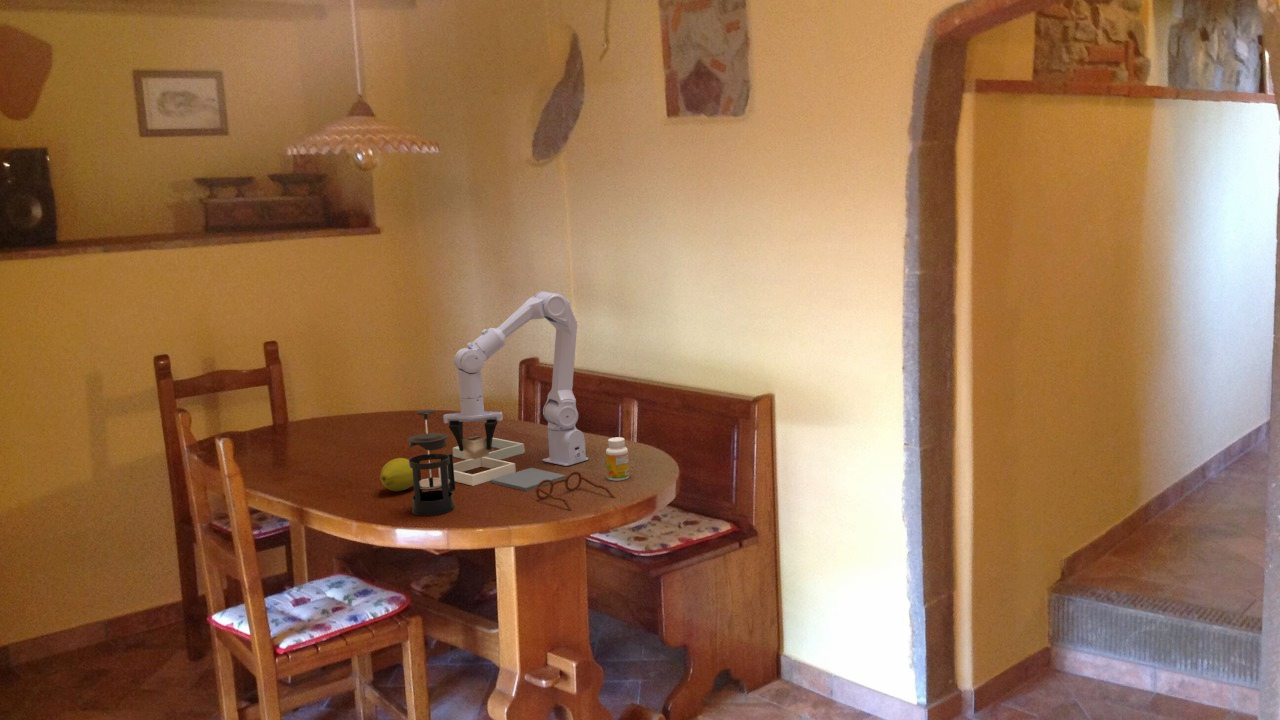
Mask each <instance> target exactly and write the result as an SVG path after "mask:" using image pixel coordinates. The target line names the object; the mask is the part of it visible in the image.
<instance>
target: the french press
mask: <svg viewBox="0 0 1280 720" xmlns="http://www.w3.org/2000/svg"><path fill="white" fill-rule="evenodd" d="M434 413H436V412H435V410H432V409H421V410H418V411H416V412H415V414H416V415H418V416H419V415H421V416H423V417H422V418H423V420H425V422H424V423H425V433H420V434H419V433H418V434H416V435H412V436H409V437H408V438H407V443H409V448H413V447H414V446H417V445H418V446H420V447H421V448H423V449H424V450H426V451H427V453H425V454H420V455H416V456H413V457H410V458H409V459H408V460H409V466H410V468H412V470H413V482H414V483H413V484H412V487H413V489H414V490H413V492H414V494H413V496H412V498H411V500H412V501H411V502H412V514H413V515H415V516H420V517H436V516H441V515H445V514H448V513H451V512H453V511H454V510H455V505H454V499H453V493H452V492H454V491H456V483H455V482H456V481H455V480H454V467H453V464H454V459H453V458H454V457H453V453H449V452H447V453H430V451H431V452H432V451H437V450H441V449H443V448H446V447H447V439H448V438H449V437H448V434H447V433H442V432H429V429H428V418H429V415H431V414H434ZM432 460H440V461H436V462H431V461H432ZM422 461H428V463H427V462H426V463H421V462H422ZM438 468H440V473H441V478H440V477H432V470H434V469H438ZM447 468H448V471H447ZM422 470H428V471H429V477H427V478H423V479H422V476H421V474H422V473H421V471H422ZM440 489H441V490H440Z"/></svg>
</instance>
